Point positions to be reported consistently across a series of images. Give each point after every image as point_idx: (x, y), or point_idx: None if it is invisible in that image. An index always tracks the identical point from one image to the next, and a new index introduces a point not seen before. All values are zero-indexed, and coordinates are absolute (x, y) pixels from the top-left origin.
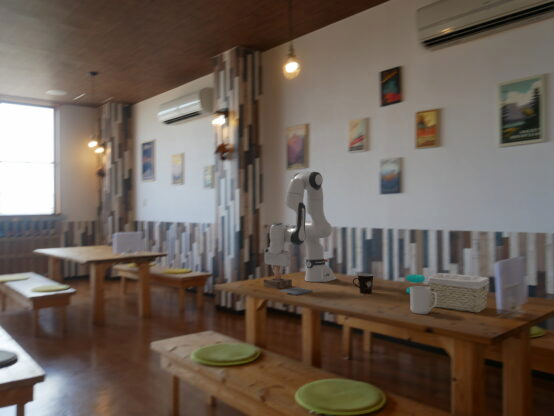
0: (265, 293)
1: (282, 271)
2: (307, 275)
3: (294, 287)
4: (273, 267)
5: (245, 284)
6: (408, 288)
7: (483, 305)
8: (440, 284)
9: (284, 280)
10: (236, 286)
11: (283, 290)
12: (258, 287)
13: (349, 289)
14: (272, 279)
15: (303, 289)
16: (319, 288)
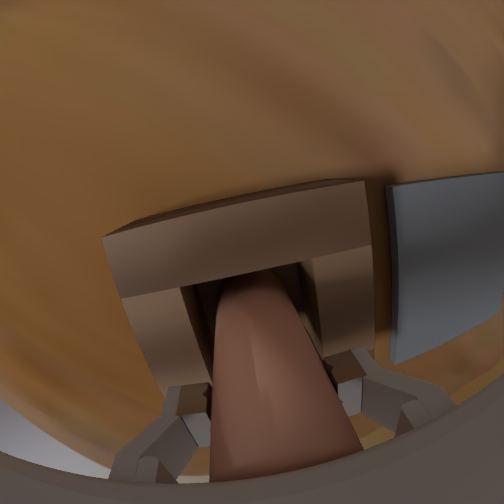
0: (361, 419)
1: (372, 359)
2: None
3: (398, 201)
4: (171, 467)
5: (27, 385)
6: None
7: None
8: None
9: (362, 293)
10: (76, 440)
11: (421, 333)
12: (147, 392)
13: (492, 6)
14: (207, 367)
15: (476, 197)
16: (443, 49)
